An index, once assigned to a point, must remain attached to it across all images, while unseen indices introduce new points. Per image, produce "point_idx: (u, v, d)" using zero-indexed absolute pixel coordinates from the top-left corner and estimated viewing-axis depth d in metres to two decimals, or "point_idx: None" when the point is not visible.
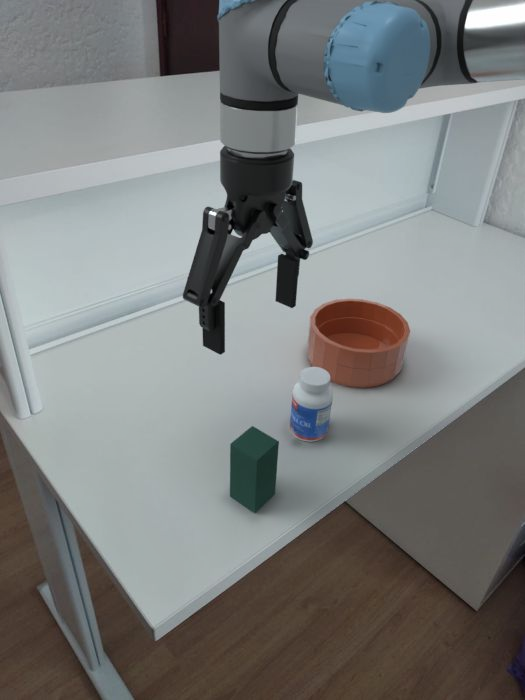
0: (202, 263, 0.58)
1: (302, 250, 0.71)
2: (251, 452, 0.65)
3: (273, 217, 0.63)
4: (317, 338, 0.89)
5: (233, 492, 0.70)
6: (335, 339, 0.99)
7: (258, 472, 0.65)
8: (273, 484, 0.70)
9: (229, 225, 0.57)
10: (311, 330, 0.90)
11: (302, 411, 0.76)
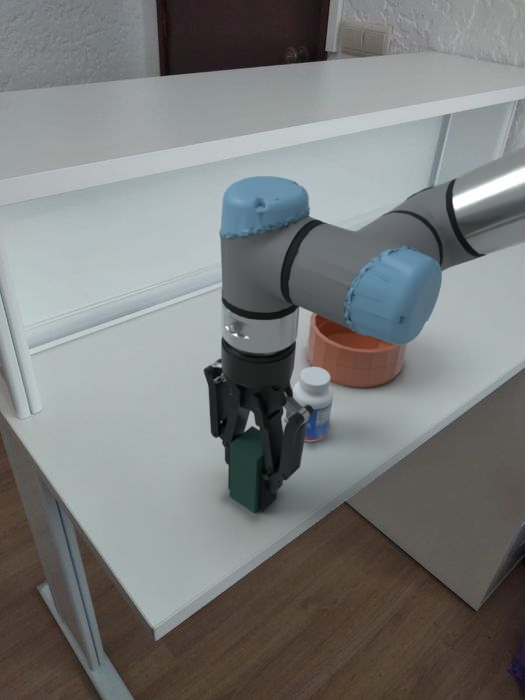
0: (297, 448, 0.62)
1: None
2: (251, 452, 0.65)
3: None
4: (317, 338, 0.89)
5: (233, 492, 0.70)
6: (335, 339, 0.99)
7: (258, 472, 0.65)
8: None
9: None
10: (311, 330, 0.90)
11: None
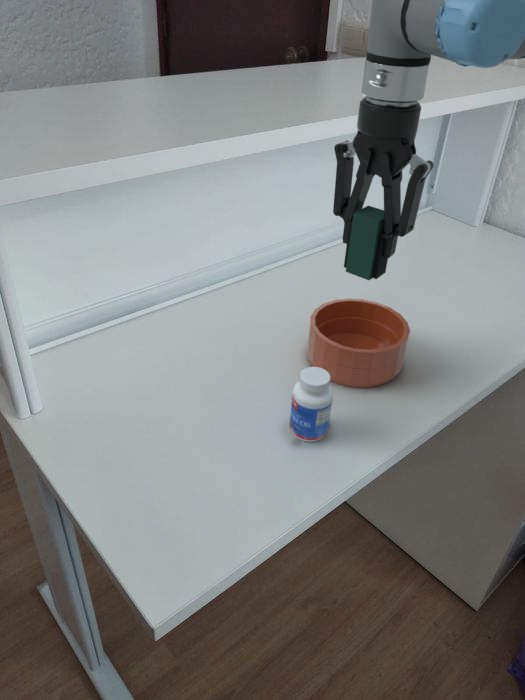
0: (416, 204, 0.75)
1: None
2: (372, 217, 0.78)
3: None
4: (317, 338, 0.89)
5: (349, 266, 0.83)
6: (335, 339, 0.99)
7: (378, 235, 0.79)
8: None
9: None
10: (311, 330, 0.90)
11: (302, 411, 0.76)
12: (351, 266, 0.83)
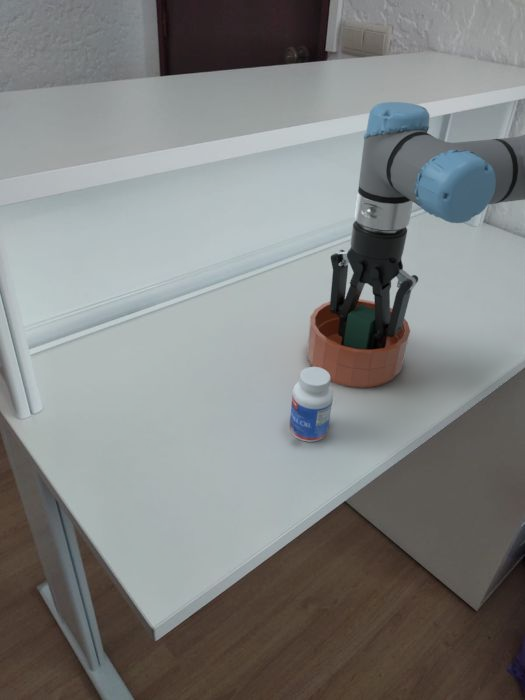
0: (403, 310, 0.84)
1: None
2: (365, 318, 0.87)
3: None
4: (317, 338, 0.89)
5: None
6: (335, 339, 0.99)
7: (369, 334, 0.88)
8: None
9: None
10: (311, 330, 0.90)
11: (302, 411, 0.76)
12: None
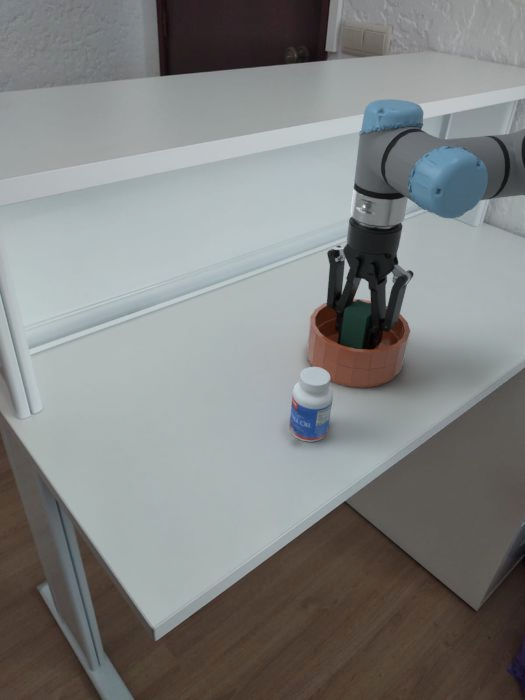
0: (398, 305, 0.85)
1: None
2: (361, 313, 0.89)
3: None
4: (317, 338, 0.89)
5: None
6: (335, 339, 0.99)
7: (366, 329, 0.89)
8: None
9: None
10: (311, 330, 0.90)
11: (302, 411, 0.76)
12: None
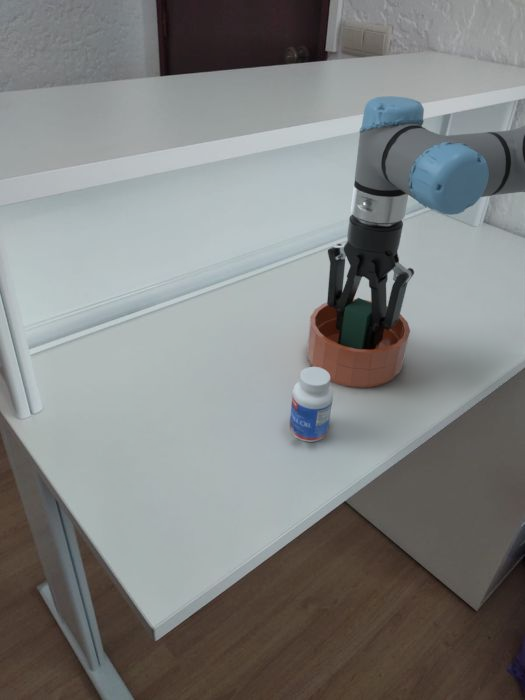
0: (399, 303, 0.85)
1: None
2: (362, 311, 0.88)
3: None
4: (317, 338, 0.89)
5: None
6: (335, 339, 0.99)
7: (366, 327, 0.89)
8: None
9: None
10: (311, 330, 0.90)
11: (302, 411, 0.76)
12: None
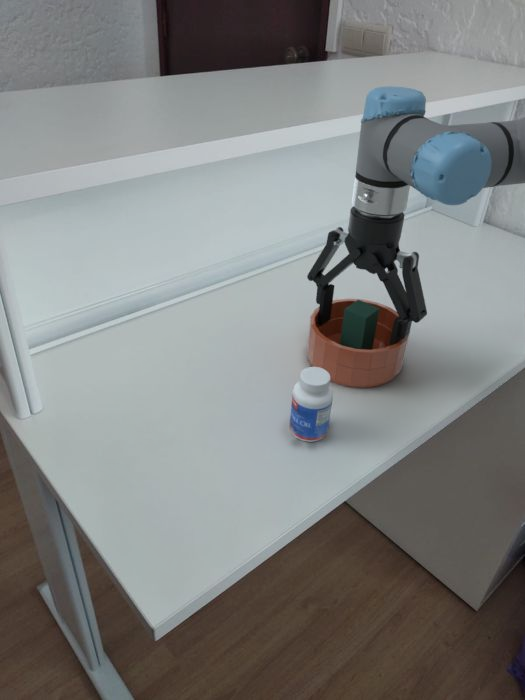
0: (418, 290, 0.82)
1: None
2: (361, 313, 0.89)
3: None
4: (317, 338, 0.89)
5: None
6: (335, 339, 0.99)
7: (365, 329, 0.89)
8: (371, 345, 0.94)
9: None
10: (311, 330, 0.90)
11: (302, 411, 0.76)
12: None
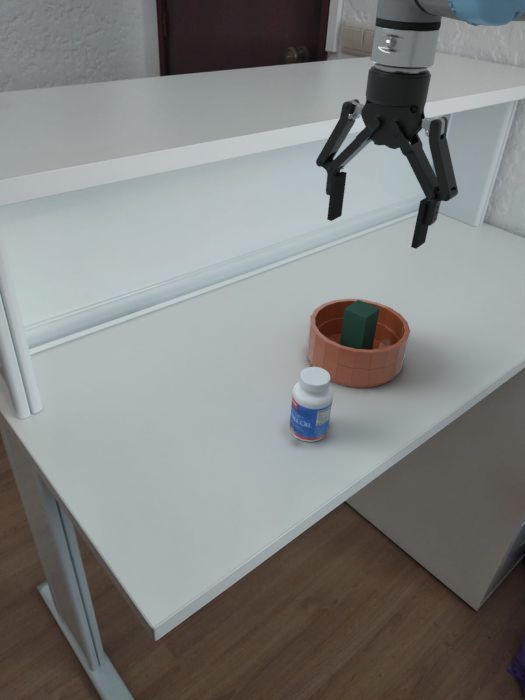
0: (447, 163, 0.72)
1: None
2: (361, 313, 0.89)
3: None
4: (317, 338, 0.89)
5: None
6: (335, 339, 0.99)
7: (365, 329, 0.89)
8: (371, 345, 0.94)
9: None
10: (311, 330, 0.90)
11: (302, 411, 0.76)
12: None
